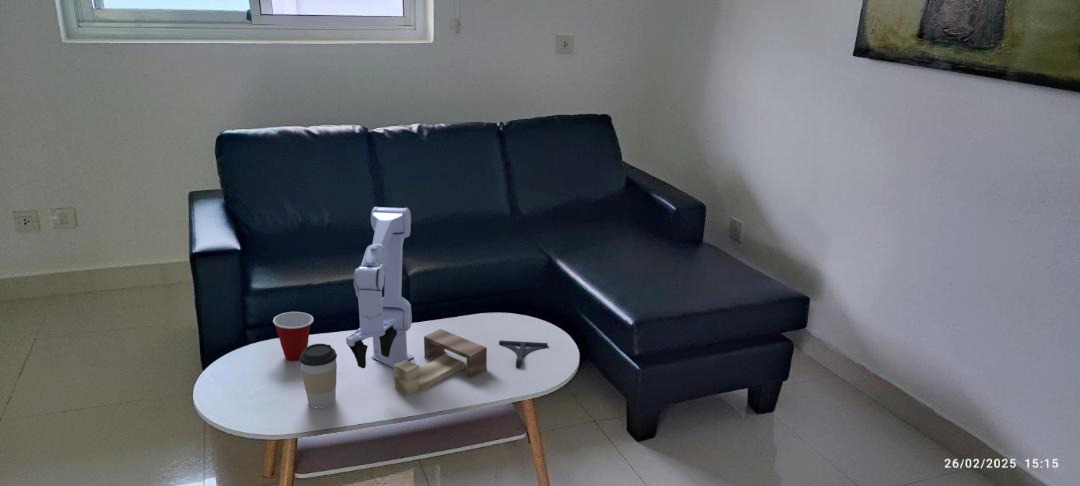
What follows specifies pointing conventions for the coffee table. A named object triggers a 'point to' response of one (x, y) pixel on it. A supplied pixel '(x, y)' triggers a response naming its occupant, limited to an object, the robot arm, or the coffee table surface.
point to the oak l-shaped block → (424, 373)
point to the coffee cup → (319, 374)
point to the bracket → (522, 348)
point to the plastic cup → (293, 333)
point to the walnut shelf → (457, 350)
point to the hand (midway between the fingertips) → (373, 361)
